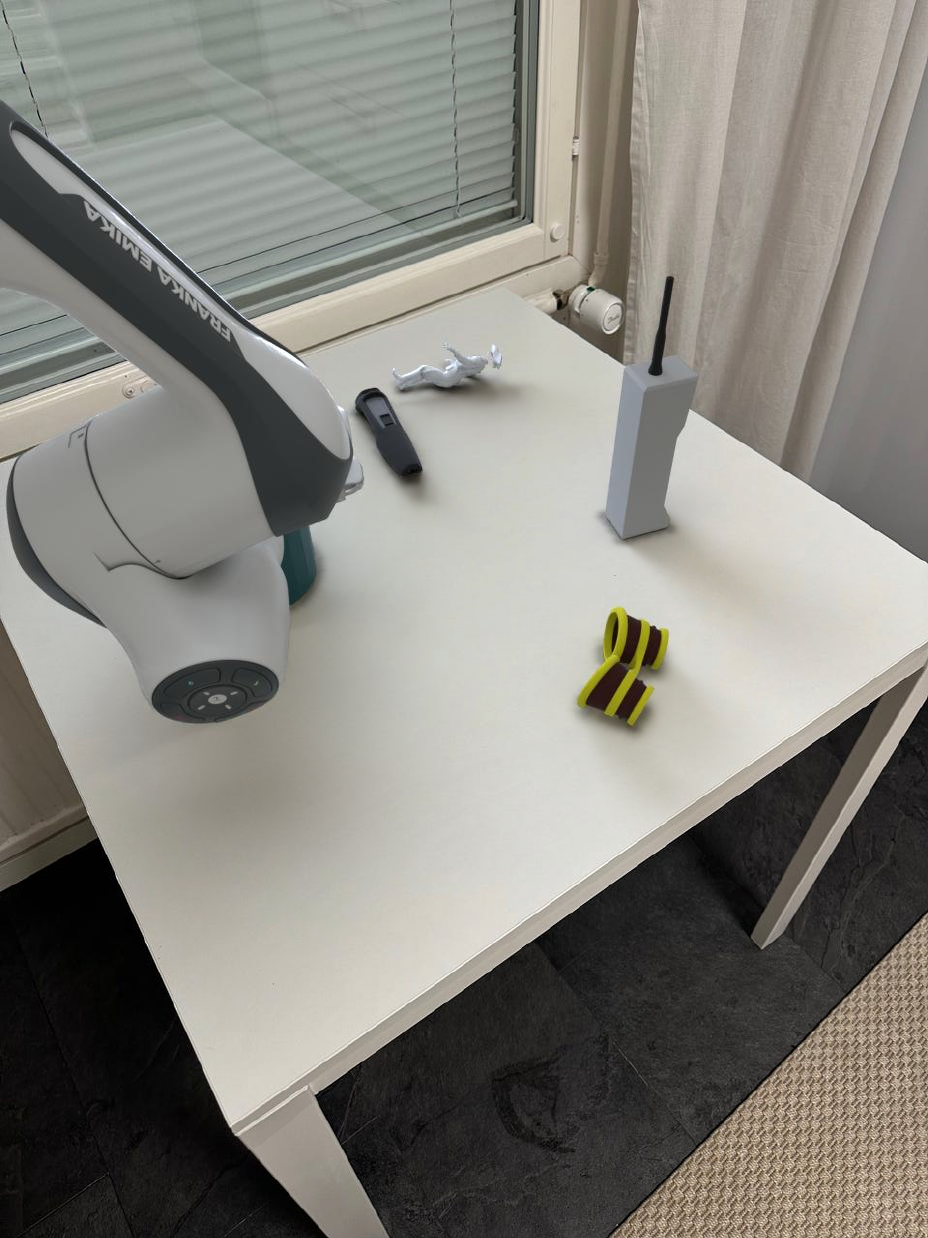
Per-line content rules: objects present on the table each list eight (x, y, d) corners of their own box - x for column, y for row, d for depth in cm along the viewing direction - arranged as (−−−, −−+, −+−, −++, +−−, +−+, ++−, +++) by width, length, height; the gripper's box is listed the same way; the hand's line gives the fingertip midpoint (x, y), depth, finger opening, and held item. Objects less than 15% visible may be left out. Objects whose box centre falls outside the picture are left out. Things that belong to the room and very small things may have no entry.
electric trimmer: (396, 492, 90) (394, 467, 88) (352, 408, 100) (349, 384, 97) (431, 483, 91) (430, 458, 89) (384, 401, 101) (382, 376, 98)
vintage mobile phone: (668, 528, 85) (718, 279, 67) (621, 541, 84) (659, 291, 66) (650, 504, 88) (694, 258, 69) (604, 516, 87) (636, 269, 68)
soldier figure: (395, 379, 105) (486, 333, 105) (413, 416, 106) (504, 371, 105) (389, 365, 98) (487, 316, 97) (408, 406, 98) (507, 356, 97)
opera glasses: (631, 742, 70) (652, 708, 66) (569, 715, 70) (586, 680, 67) (659, 653, 76) (680, 617, 72) (601, 629, 77) (619, 592, 73)
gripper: (362, 458, 59) (341, 350, 68) (44, 501, 57) (66, 383, 66) (372, 529, 64) (351, 419, 73) (77, 572, 61) (94, 452, 71)
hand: (213, 402), depth 70 cm, fingers closed on brush, 2 cm apart
